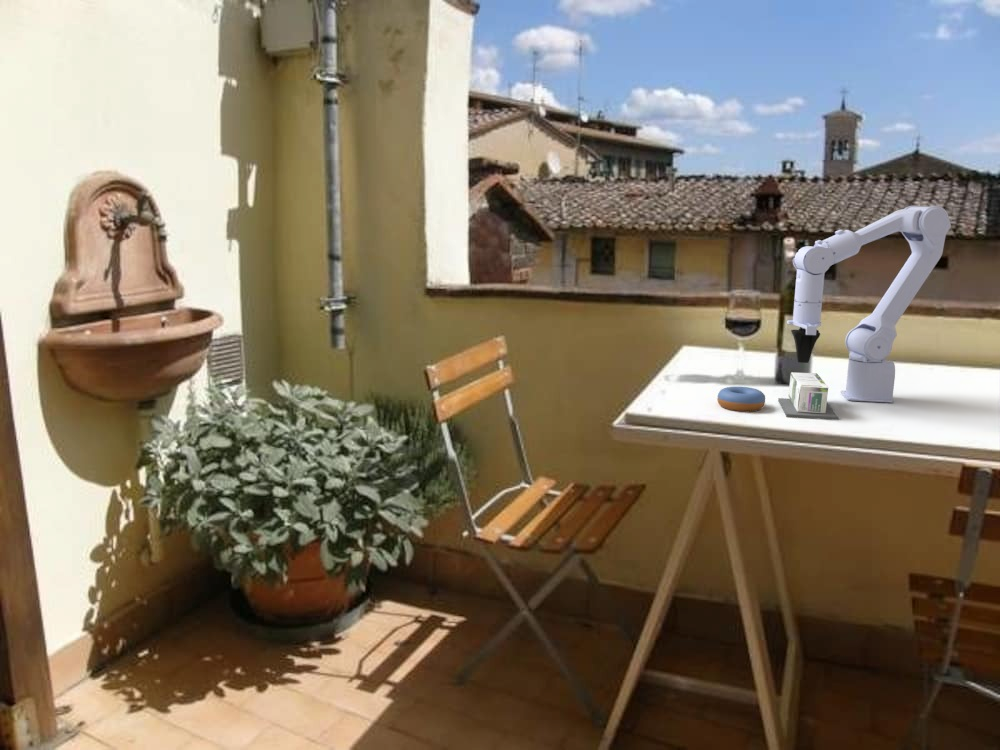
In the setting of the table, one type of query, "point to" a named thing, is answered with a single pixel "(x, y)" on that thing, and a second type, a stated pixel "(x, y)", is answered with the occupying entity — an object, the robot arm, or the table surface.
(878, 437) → the table surface
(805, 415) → the mat
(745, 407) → the doughnut
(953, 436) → the table surface
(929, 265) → the robot arm
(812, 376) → the syrup box
